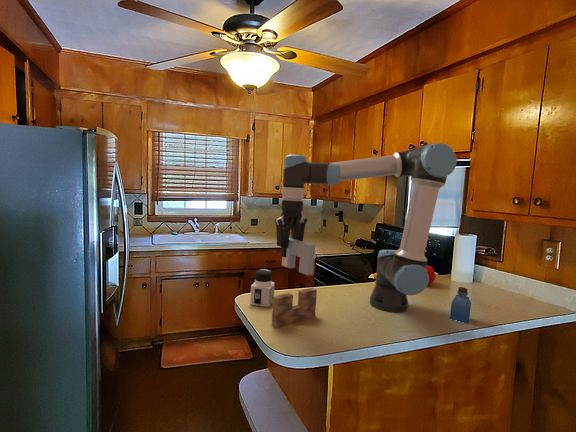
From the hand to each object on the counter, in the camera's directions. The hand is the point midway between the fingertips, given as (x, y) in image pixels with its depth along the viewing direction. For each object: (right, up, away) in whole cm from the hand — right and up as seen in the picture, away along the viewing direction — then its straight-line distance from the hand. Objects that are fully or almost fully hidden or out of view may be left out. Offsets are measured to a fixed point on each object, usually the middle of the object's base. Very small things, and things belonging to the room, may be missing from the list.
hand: (288, 265), depth 120 cm
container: (-10, -17, +13) cm, 24 cm away
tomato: (+68, -17, +51) cm, 86 cm away
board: (+2, -19, -2) cm, 19 cm away
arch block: (+3, -1, -4) cm, 5 cm away
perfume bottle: (+65, -22, +8) cm, 69 cm away
